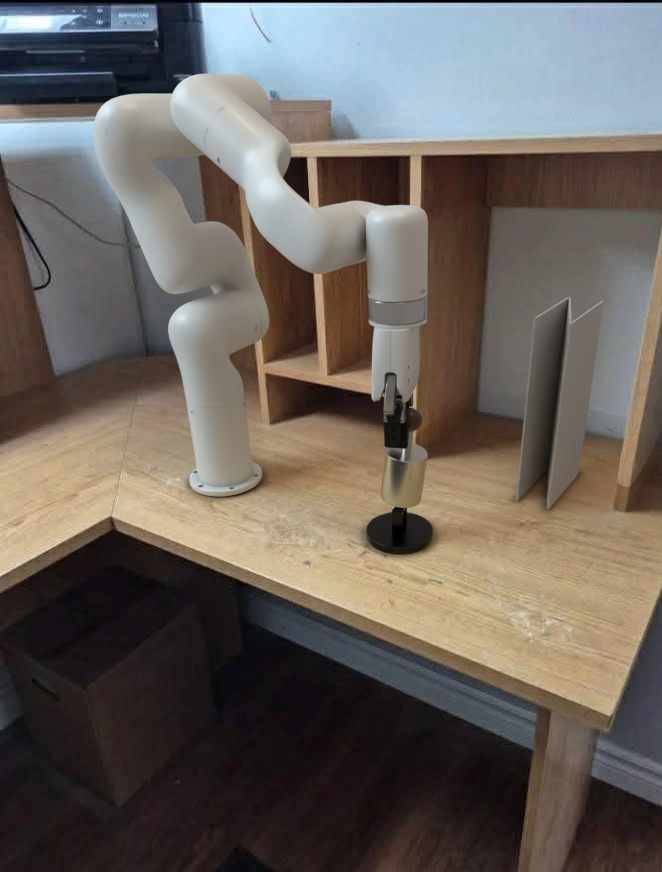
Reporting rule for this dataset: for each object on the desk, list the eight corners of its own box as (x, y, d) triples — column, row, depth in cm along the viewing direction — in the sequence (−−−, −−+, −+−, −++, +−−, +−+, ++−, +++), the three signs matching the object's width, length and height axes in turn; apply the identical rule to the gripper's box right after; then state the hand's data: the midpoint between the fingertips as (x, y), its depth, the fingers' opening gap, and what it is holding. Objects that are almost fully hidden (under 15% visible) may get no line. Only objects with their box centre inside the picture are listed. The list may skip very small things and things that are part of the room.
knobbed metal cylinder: (436, 404, 96) (394, 397, 97) (429, 421, 91) (385, 414, 92) (422, 506, 104) (383, 499, 105) (415, 527, 99) (374, 519, 100)
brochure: (548, 465, 122) (568, 296, 108) (578, 473, 120) (604, 300, 105) (515, 500, 112) (533, 318, 98) (548, 509, 110) (571, 323, 95)
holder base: (437, 521, 107) (438, 491, 105) (426, 558, 99) (427, 526, 96) (375, 514, 110) (374, 485, 107) (359, 549, 101) (358, 518, 99)
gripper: (383, 293, 96) (386, 415, 105) (352, 327, 82) (358, 465, 90) (436, 294, 94) (435, 418, 103) (415, 329, 80) (415, 469, 89)
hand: (399, 439), depth 96 cm, fingers open, 3 cm apart
